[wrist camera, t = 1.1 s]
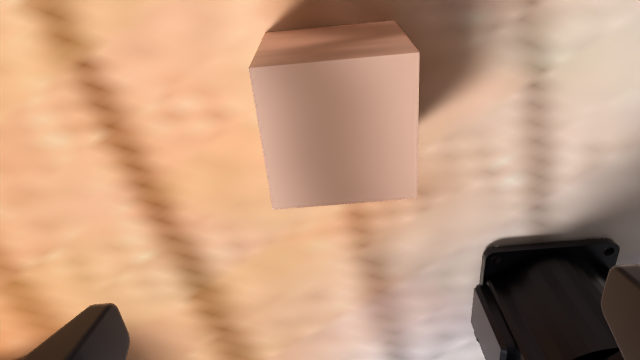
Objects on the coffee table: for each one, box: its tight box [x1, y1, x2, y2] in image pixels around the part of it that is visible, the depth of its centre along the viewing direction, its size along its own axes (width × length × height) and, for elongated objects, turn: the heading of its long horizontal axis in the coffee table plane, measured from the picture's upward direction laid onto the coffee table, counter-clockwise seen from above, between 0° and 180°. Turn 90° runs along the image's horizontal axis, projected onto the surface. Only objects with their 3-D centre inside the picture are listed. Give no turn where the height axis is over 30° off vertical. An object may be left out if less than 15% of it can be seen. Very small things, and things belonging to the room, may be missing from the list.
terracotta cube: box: [249, 20, 420, 210], centre depth 17 cm, size 5×5×5 cm
